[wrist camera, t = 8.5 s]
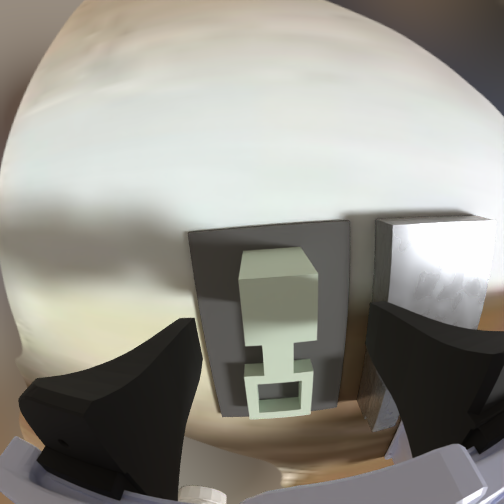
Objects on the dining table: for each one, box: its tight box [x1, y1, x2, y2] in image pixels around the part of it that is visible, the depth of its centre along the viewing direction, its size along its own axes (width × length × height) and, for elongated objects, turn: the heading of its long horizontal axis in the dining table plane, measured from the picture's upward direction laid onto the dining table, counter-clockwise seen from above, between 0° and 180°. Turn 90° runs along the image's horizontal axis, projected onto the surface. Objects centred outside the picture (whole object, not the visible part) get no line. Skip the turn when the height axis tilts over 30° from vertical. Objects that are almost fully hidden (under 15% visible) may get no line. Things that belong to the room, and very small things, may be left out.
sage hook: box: [238, 247, 318, 419], centre depth 16 cm, size 13×5×5 cm, turn 4°
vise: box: [357, 215, 496, 432], centre depth 15 cm, size 16×10×6 cm, turn 5°
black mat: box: [188, 220, 350, 417], centre depth 19 cm, size 16×10×1 cm, turn 5°
